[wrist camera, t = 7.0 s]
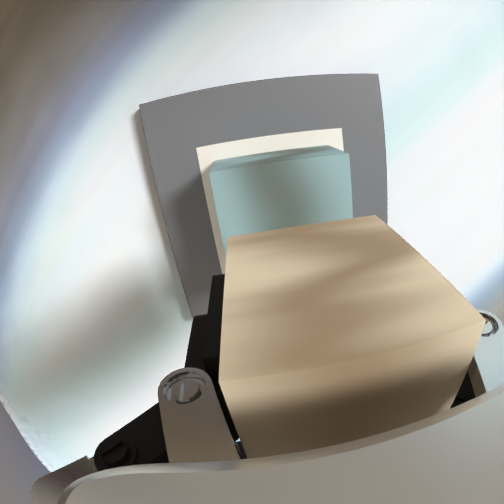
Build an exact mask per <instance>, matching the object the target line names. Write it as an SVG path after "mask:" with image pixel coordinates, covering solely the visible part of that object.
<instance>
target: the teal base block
mask: <svg viewBox="0 0 504 504" xmlns="http://www.w3.org/2000/svg"><path fill="white" fill-rule="evenodd" d="M209 176H210V181H211V186H212V191H213V196H214V201H215V206H216V211H217V216H218V221H219V226H220V231H221V236H222V241H223V246H224V250H225V255H226V253H227V240H228V237H231V236H237V235H244V234H250V233H256V232H263V231H269V230H276V229H282V228H289V227H295V226H302V225H309V224H315V223H322V222H329V221H336V220H343V219H350V218H353V207H352V187H351V171H350V158H349V153H346V152H344V151H342V150H339V149H337V148H334V147H332V146H329V145H322V146H313V147H304V148H295V149H287V150H279V151H272V152H265V153H258V154H251V155H245V156H239V157H233V158H227V159H221V160H215V162H214V164H213V166H212V168H211V170H210V172H209Z"/></svg>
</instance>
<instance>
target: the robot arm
mask: <svg viewBox="0 0 504 504" xmlns="http://www.w3.org/2000/svg"><path fill="white" fill-rule="evenodd" d="M224 281H225V274H219V275H213V276H212V283H211V290H210V297H209V304H208V312H207V314H204V315H196V316H194V318H193V323H192V328H191V334H190V339H189V345H188V350H187V356H186V362H185V368H182V369H178V370H176V371H173V372H172V373H170V374H169V375H167V376H166V377H165V378H164V379H163V380H162V381H161V383H160V385H159V387H158V400H159V402H158V403H157V404H155V405H154V406H153V407H151V408H150V409H148V410H147V411H146V412H144V413H143V414H141V415H140V416H138V417H137V418H135V419H134V420H133V421H131V422H130V423H128V424H127V425H125V426H124V427H122V428H121V429H119V430H118V431H116V432H115V433H113V434H112V435H110V436H109V437H107V438H106V439H105V440H103V441H102V442H101V443H100V444H99V446H98V447H97V449H96V451H95V454H94V457H92V458H90V459H89V458H88V457H87V456H85V457H83V458H81V459H79V460H77V461H75V462H73V463H71V464H68V465H66V466H64V467H62V468H60V469H58V470H56V471H54V472H51V473H49V474H47V475H45V476H43V477H40V478H39V479H38V480H36V481H35V483H34V484H33V485H32V487H31V491H30V497H31V502H32V504H504V326H503V324H502V322H501V321H500V319H499V318H498V317H497V316H495V315H494V314H493V313H490V312H488V311H485V310H477V311H478V312H479V313H480V314H481V315H482V316H483V318H484V319H485V320H486V321H485V324H484V327H483V330H482V333H481V336H480V339H479V342H478V345H477V347H476V350H475V353H474V355H473V358H472V360H471V363H470V365H469V368H468V370H467V373H466V375H465V377H464V379H463V382H462V384H461V386H460V388H459V391H458V393H457V395H456V397H455V399H454V401H453V403H452V405H451V407H450V409H448V410H446V411H444V412H441V413H439V414H436V415H433V416H431V417H428V418H426V419H423V420H420V421H417V422H414V423H412V424H409V425H406V426H403V427H400V428H396V429H393V430H390V431H387V432H383V433H380V434H377V435H373V436H369V437H366V438H362V439H358V440H354V441H350V442H346V443H342V444H337V445H333V446H328V447H323V448H318V449H313V450H308V451H302V452H296V453H290V454H283V455H276V456H268V457H260V458H250V459H242V457H241V454H240V452H239V449H238V447H237V444H236V440H238V439H239V435H238V433H237V430H236V428H235V425H234V422H233V420H232V417H231V414H230V412H229V409H228V406H227V404H226V401H225V398H224V395H223V393H222V390H221V387H220V384H219V363H220V345H221V328H222V312H223V296H224Z"/></svg>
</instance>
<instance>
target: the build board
mask: <svg viewBox="0 0 504 504" xmlns="http://www.w3.org/2000/svg"><path fill="white" fill-rule="evenodd" d="M139 107H140V112H141V118H142V123H143V128H144V133H145V138H146V143H147V147H148V152H149V157H150V161H151V166H152V170H153V175H154V179H155V183H156V188H157V192H158V196H159V200H160V204H161V208H162V212H163V216H164V220H165V224H166V227H167V231H168V235H169V239H170V242H171V246H172V250H173V253H174V257H175V260H176V264H177V267H178V271H179V274H180V278H181V281H182V284H183V288H184V291H185V294H186V298H187V301H188V304H189V307H190V310H191V314H192V317H193V318H194V316H196V315H204V314H207V312H208V304H209V297H210V290H211V283H212V276H213V275H219V274H225V267H226V255H225V250H224V246H223V241H222V236H221V231H220V226H219V221H218V216H217V211H216V206H215V201H214V196H213V191H212V186H211V181H210V176H209V172H210V170H211V168H212V166H213V164H214V162H215V160H221V159H227V158H233V157H239V156H245V155H251V154H258V153H265V152H272V151H279V150H287V149H295V148H304V147H313V146H322V145H329V146H332V147H334V148H337V149H339V150H342V151H344V152H346V153H349V158H350V171H351V187H352V207H353V218H357V217H364V216H371V215H376V216H377V217H379V218H380V219H381V220H382V221H383V222H385V223H386V224H387V167H386V148H385V133H384V121H383V111H382V101H381V93H380V85H379V77H378V74H325V75H308V76H295V77H284V78H274V79H265V80H257V81H250V82H243V83H236V84H230V85H224V86H219V87H213V88H208V89H203V90H198V91H193V92H188V93H184V94H179V95H175V96H171V97H167V98H163V99H159V100H155V101H151V102H148V103H144V104H140V105H139Z"/></svg>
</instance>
